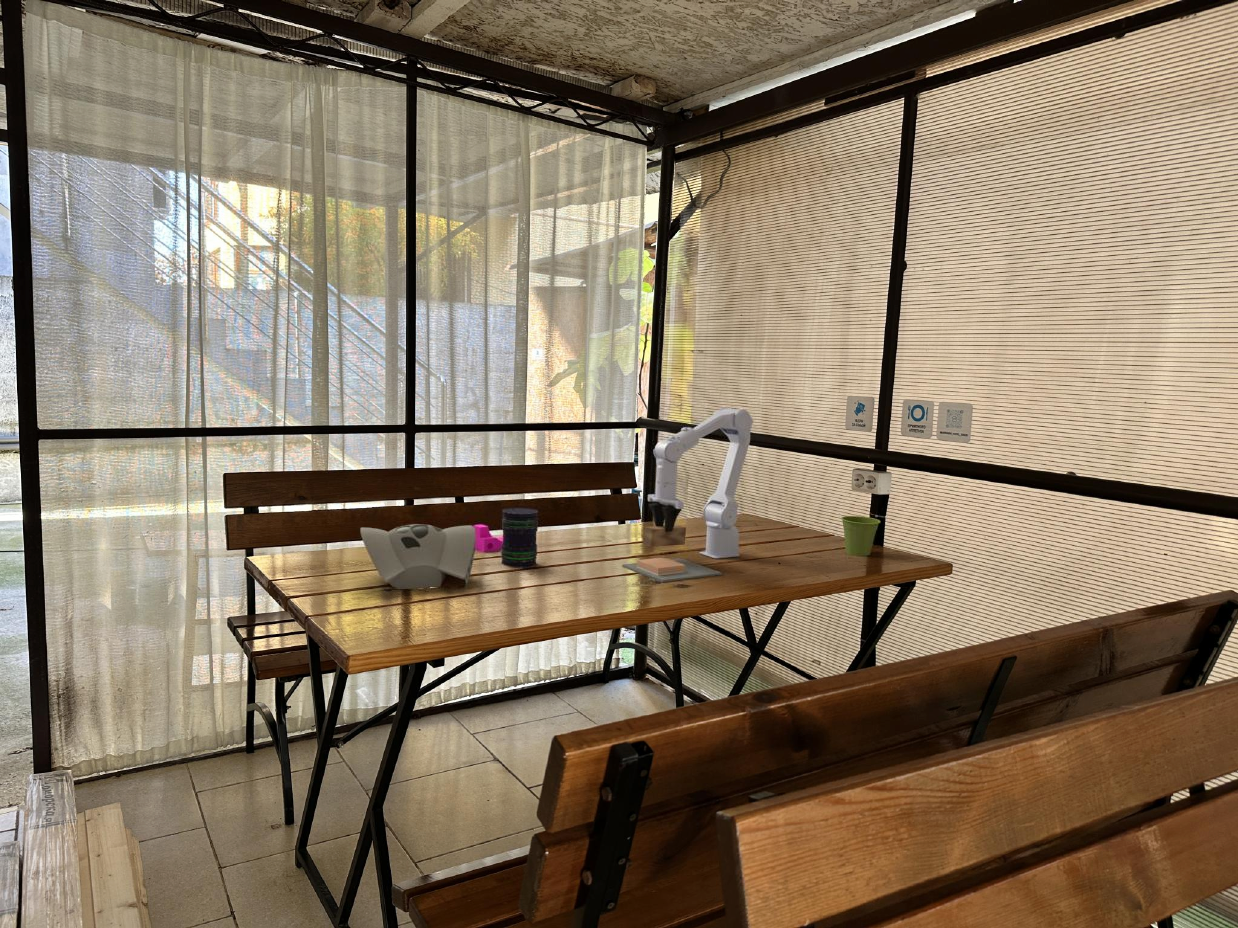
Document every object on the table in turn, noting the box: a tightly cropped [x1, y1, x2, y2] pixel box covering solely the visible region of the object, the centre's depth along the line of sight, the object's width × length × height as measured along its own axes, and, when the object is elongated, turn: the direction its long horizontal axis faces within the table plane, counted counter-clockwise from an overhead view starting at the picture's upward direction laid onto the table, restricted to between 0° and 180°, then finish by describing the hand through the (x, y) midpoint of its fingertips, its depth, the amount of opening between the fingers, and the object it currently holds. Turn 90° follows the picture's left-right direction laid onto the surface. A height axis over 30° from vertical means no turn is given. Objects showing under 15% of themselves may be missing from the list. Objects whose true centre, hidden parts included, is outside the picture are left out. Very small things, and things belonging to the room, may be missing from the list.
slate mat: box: [622, 557, 723, 583], centre depth 236 cm, size 20×19×1 cm
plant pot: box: [840, 515, 881, 557], centre depth 267 cm, size 12×12×11 cm
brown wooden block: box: [642, 524, 687, 548], centre depth 245 cm, size 12×4×5 cm, turn 123°
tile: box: [636, 556, 685, 576], centre depth 234 cm, size 2×10×9 cm
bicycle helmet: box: [359, 523, 476, 590], centre depth 213 cm, size 28×25×16 cm
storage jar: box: [500, 507, 539, 569], centre depth 236 cm, size 10×10×15 cm
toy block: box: [473, 524, 503, 553], centre depth 255 cm, size 15×6×8 cm, turn 129°
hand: (663, 529), depth 245 cm, fingers closed on brown wooden block, 4 cm apart
